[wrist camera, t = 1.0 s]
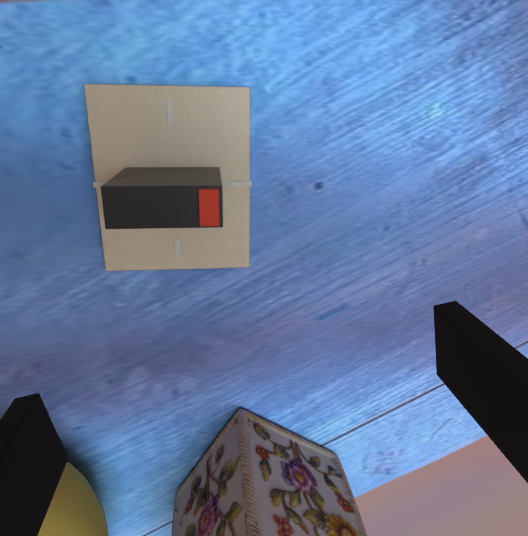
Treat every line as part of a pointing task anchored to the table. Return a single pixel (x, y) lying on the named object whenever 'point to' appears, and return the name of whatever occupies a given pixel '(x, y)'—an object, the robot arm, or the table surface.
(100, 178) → the beige flat block
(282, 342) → the table surface
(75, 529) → the vase
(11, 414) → the robot arm
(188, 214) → the dark grey block
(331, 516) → the decorative jar
